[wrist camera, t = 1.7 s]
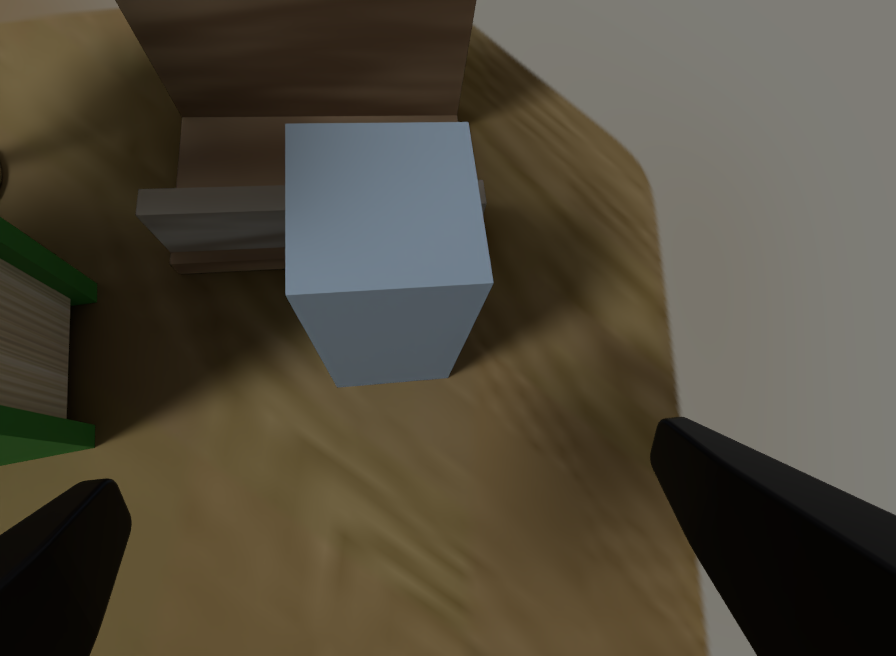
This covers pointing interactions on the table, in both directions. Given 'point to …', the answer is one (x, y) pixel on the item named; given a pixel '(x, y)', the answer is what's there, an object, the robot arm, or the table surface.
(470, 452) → the table surface
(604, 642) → the table surface
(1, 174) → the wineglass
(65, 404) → the hardback book
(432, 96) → the wooden display stand
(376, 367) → the blue-grey rectangular block
